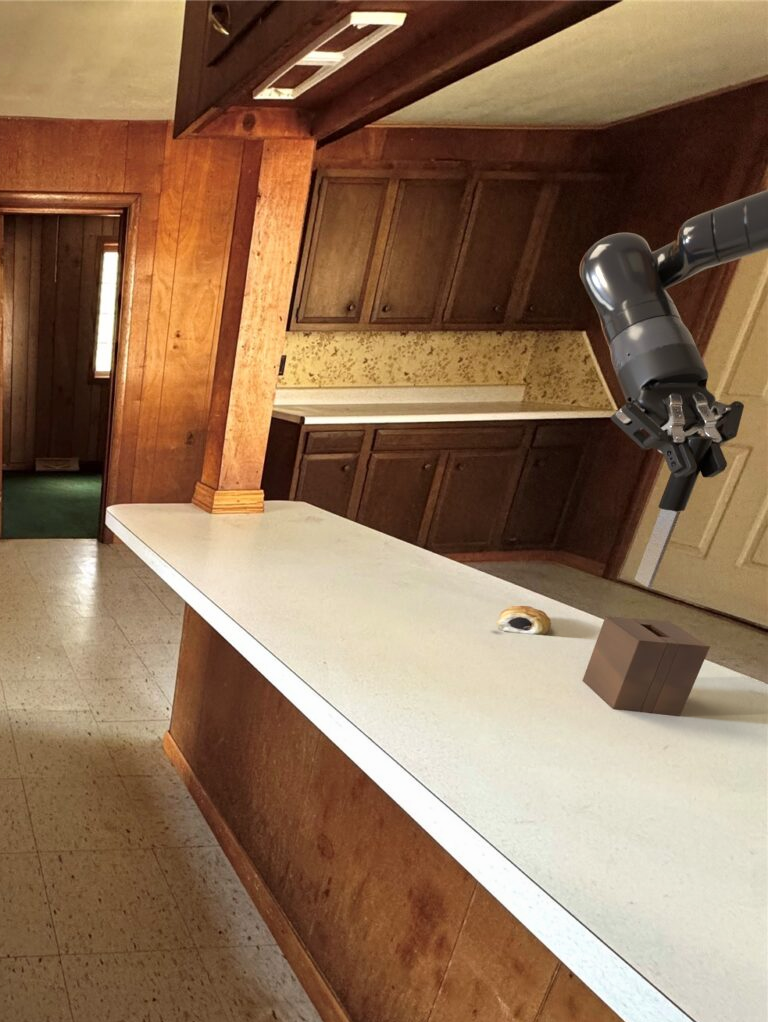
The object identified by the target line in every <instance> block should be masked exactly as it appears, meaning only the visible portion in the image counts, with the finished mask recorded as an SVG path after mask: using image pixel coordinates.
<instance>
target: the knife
mask: <svg viewBox="0 0 768 1022" xmlns="http://www.w3.org/2000/svg"><path fill="white" fill-rule="evenodd" d="M712 440H713V438H712V437H707V436H704V435H701V436H685V441H684V442H682V443H688V445H689V448H690V450H691V452H692V455H693V457H694V460H695V462H696V465H697V469H696V470H695V471H694V472H693V473H691V474H689V475H688V476H686V477H675V475H674V473H672V472H671V471H670V475H669V477H668V480H667V482H666V485H665V488H664V490H663V493H662V496H661V499H660V501H659V503H658V508H659V509H660V510H659V513H658V516H657V518H656V522H655V524H654V527H653V528H652V532H651V534H650V537H649V540H648V542H647V545H646V548H645V550H644V553H643V556H642V559H641V561H640V563H639V565H638V569H637V571H636V574H635V576H634V581H636V582H638V583H639V584H641V585H642V586H644V587H646V588H650V589H651V588H652V587H653V584H654V582H655V578H656V576H657V573H658V572H659V568H660V566H661V563H662V561H663V558H664V555H665V553H666V550H667V548H668V546H669V543H670V540H671V537H672V536H673V532H674V530H675V527H676V525H677V522H678V520H679V518H680V515H681V512H683V511H686V508H687V506H688V504H689V501H690V498H691V495H692V493H693V491H694V488H695V486H696V483H697V481H698V478H699V475H700V473H701V471H700V470H701V468H702V465H703V463H704V460H705V457H706V455H707V452H708V450H709V447H710V445H711V442H712Z"/></svg>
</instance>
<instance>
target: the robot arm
mask: <svg viewBox="0 0 768 1022" xmlns="http://www.w3.org/2000/svg"><path fill="white" fill-rule="evenodd" d="M767 250H768V189H766V190H762V191H759V192H756V193H754V194H751V195H749V196H745V197H743V198H740V199H737V200H735V201H731V202H729V203H726V204H724V205H721V206H719V207H715V208H714V209H710V210H707V211H704V212H702V213H700V214H697V215H695V216H693V217H691V218H689V219H687V220H686V221H684V222H683V223H682V224H681V225H680V226H679V229H678V232H677V235H676V239H674V240H673V241H671V242H670V243H667V244H666V245H664V246H662V247H660V248H658V249H657V250H654V251H652V250H651V247H650V245H649V243H648V241H647V240H646V239H645V238H644V237H643V236H641V235H639V234H637V233H633V232H617V233H613V234H609V235H607V236H605V237H603V238H601V239H599V240H598V241H596V242H594V243H593V245H591V246H590V247H589V248H588V249H587V250H586V252H585V253H584V255H583V256H582V258H581V260H580V263H579V268H578V273H579V277H580V279H581V282H582V284H583V285H584V289H585V290H586V293H587V294H588V296H589V298H590V300H591V302H592V304H593V306H594V307H595V310H596V311H597V314H598V318H599V321H600V325H601V330H602V333H603V336H604V339H605V342H606V344H607V346H608V349H609V353H610V360H611V364H612V367H613V370H614V373H615V375H616V378H617V380H618V381H617V382H618V384H619V386H620V388H621V391H622V394H623V396H624V399H625V402H626V403H625V404H624V405H623V406H621V407H620V408H619V409H618V410H617V411H616V412H614V413H613V414H612V415H611V416H610V420H611V421H612V422H613V423H614V424H615V425H617V427H618V428H620V429H621V430H622V431H623V432H624V433H625V434H626V436H628V437H629V438H630V439H631V440H632V441H633V442H635V443H636V444H637V446H639V447H640V448H641V449H643V450H647V451H648V450H650V449H655V450H656V451H657V452H658V453H660V454H662V455H663V457H664V460H665V462H666V465H667V467H668V470H669V471H670V473H671V472H672V473H674V475H675V477H686V476H688V475H689V474H691V473H693V472H694V471H695V470H696V469H697V465H696V462H695V460H694V457H693V455H692V452H691V450H690V448H689V445H688V443H682V442H684V441H685V436H702V435H703V436H707V437H712V438H713V440H712V442H711V445H710V447H709V450H708V452H707V455H706V457H705V460H704V463H703V465H702V468H701V470H700V473H701V476H702V477H703V478H715V477H716V476H718V475H719V474H721V473H723V472H724V471H725V470H726V468H727V466H728V462H727V460H726V457H725V455H724V453H723V450H722V448H721V447H722V446H723V445H725V444H726V443H727V442H729V441H730V440H733V439H735V438H736V437H737V436H738V431H739V427H740V424H741V421H742V416H743V413H744V408H745V405H744V403H743V402H742V401H738V400H734V401H732V402H731V403H730V404H726V403H724V402H721V401H717V400H716V399H717V398H716V396H715V395H714V394H713V393H712V392H710V391H709V389H707V383H708V379H709V371H708V369H707V367H706V364H705V362H704V360H703V358H702V355H701V354H700V351H699V348H698V347H697V345H696V343H695V340H694V338H693V335H692V334H691V332H690V331H689V329H688V327H687V326H686V325H685V324H684V322H683V320H682V318H681V315H680V313H679V311H678V309H677V307H676V305H675V302H674V301H673V299H672V297H671V296H670V294H669V293H668V292H667V289H669V288H670V287H673V286H675V285H677V284H679V283H681V282H683V281H685V280H687V279H689V278H691V277H693V276H694V275H696V274H698V273H700V272H702V271H705V270H707V269H711V268H714V267H716V266H720V265H724V264H727V263H730V262H733V261H736V260H739V259H742V258H745V257H748V256H751V255H755V254H758V253H761V252H764V251H767ZM642 430H644V431H645V432H647V433H648V434H649V436H647V435H645V433H644V432H643V431H642Z"/></svg>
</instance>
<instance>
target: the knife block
mask: <svg viewBox="0 0 768 1022" xmlns="http://www.w3.org/2000/svg"><path fill="white" fill-rule="evenodd" d="M710 648H711V646H710V645H709V644H707V643H705V641H704V642H703V641H702V640H700V639H699V638H697V637H696V636H695V635H692V634H691V633H689V632H688V631H686V630H684V629H683V628H682V627H680V626H678V625H677V624H675V623H674V622H672V621H670V620H661V619H647V618H634V617H632V618H631V617H618V616H609V615H608V616H605V617H604V619H603V621H602V625H601V628H600V630H599V633H598V636H597V639H596V642H595V644H594V647H593V650H592V653H591V655H590V659H589V661H588V664H587V667H586V669H585V672H584V674H583V678H582V683H584V684H585V685H586V686H587V687H588V688H589V689H590V690H591V691H592V692H594V694H596V695H597V696H598V697H599V698H600V699H601V700H602V701H603V702H604V703H605V704H607V706H608V707H610V708H611V709H612V710H615V711H616V710H617V711H624V712H625V711H626V712H636V713H645V714H653V715H661V716H673V717H681V715H682V712H683V710H684V708H685V707H686V705H687V704H686V703H687V701H688V700H689V696H690V694H691V692H692V689H693V687H694V685H695V684H696V683H695V682H696V680H697V679H698V676H699V674H700V671H701V670H702V669H701V668H702V667H703V664H704V662H705V659H706V657H707V655H708V653H709V651H710Z"/></svg>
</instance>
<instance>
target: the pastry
mask: <svg viewBox="0 0 768 1022" xmlns="http://www.w3.org/2000/svg"><path fill="white" fill-rule="evenodd" d="M496 625H497V627H498V629H499V630H500V631H503V632H508V633H511V634H524V635H532V636H533V635H535V636H544V635H546V634H548V633H549V631H550V628H551V626H552V622H551V619H550V617H549V616H548V614H547V613H546V612H545V611H543V610H541V609H537V608H534V607H532V606H530V605H517V606H514V605H513V606H509V607H507V608H506V609H504V610H502V611H501V612H500V614H499V618H498V619H497V620H496Z"/></svg>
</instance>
